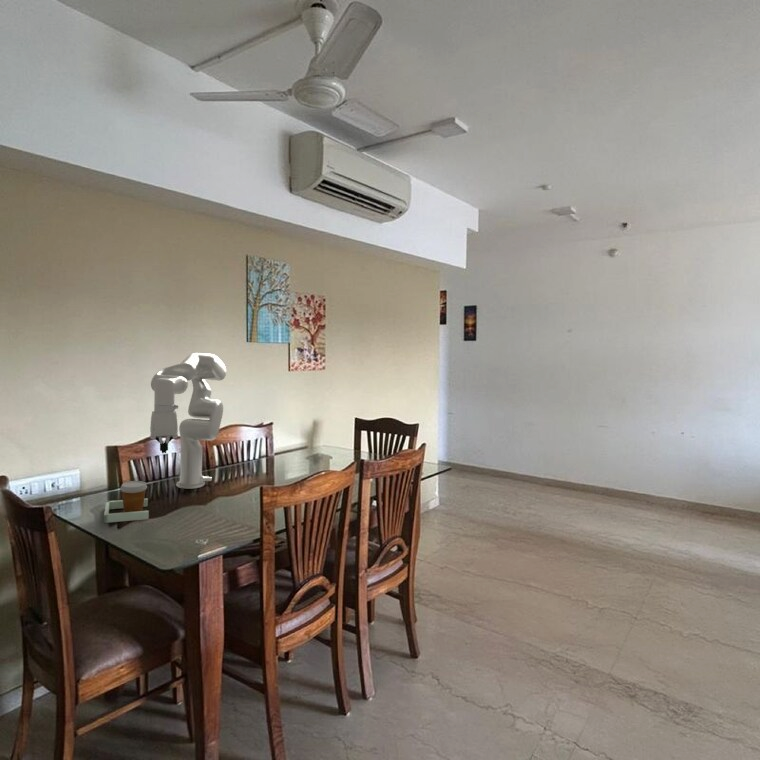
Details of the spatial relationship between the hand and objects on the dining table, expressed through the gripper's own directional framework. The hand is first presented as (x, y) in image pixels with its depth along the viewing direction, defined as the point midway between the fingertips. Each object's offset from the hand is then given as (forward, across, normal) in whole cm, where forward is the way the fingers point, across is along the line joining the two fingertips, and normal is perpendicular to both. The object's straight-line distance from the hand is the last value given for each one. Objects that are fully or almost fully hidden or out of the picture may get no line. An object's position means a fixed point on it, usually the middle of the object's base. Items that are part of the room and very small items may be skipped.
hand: (163, 452), depth 214 cm
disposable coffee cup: (+22, +12, +7) cm, 26 cm away
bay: (+22, +13, +7) cm, 27 cm away
